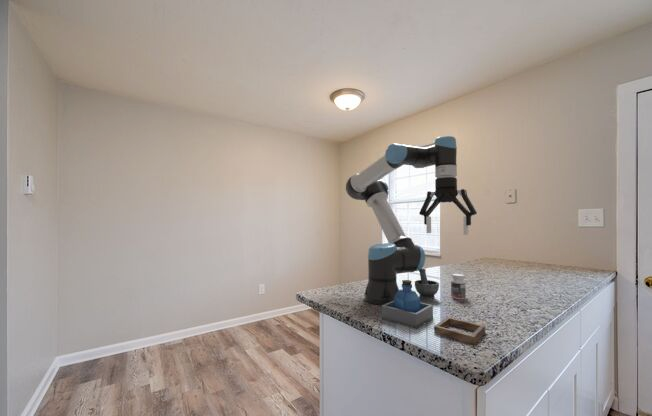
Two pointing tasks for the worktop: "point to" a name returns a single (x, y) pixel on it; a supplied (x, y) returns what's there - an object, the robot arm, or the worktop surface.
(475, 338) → the holder
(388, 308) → the bin
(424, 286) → the mortar and pestle
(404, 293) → the perfume bottle
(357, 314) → the worktop surface
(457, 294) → the pill bottle
